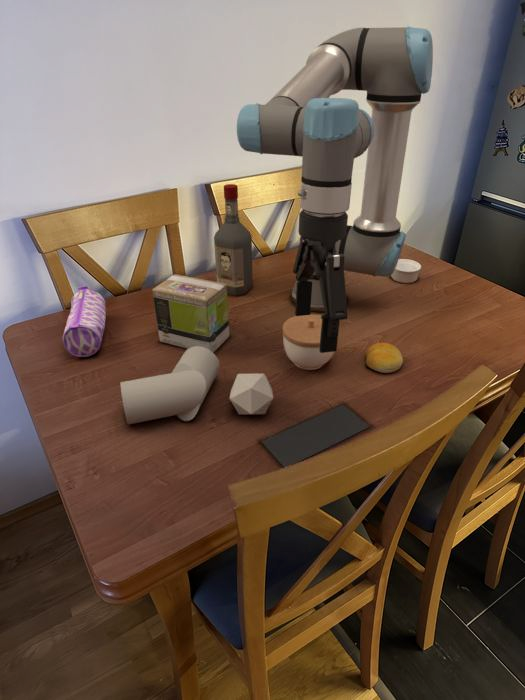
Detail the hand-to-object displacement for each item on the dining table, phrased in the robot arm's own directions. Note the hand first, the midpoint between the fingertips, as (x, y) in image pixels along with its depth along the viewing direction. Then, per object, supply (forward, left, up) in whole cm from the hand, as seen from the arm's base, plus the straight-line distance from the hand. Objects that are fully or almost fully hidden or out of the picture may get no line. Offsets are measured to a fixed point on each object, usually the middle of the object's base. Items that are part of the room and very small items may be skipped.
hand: (314, 331), depth 86 cm
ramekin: (-69, +23, -21) cm, 76 cm away
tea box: (-25, -31, -21) cm, 45 cm away
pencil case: (-22, -58, -21) cm, 65 cm away
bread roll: (-22, +15, -21) cm, 34 cm away
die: (-1, -12, -21) cm, 24 cm away
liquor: (-54, -27, -21) cm, 64 cm away
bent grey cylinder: (0, -29, -21) cm, 35 cm away
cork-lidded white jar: (-20, -2, -21) cm, 29 cm away
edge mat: (+4, +2, -20) cm, 21 cm away
